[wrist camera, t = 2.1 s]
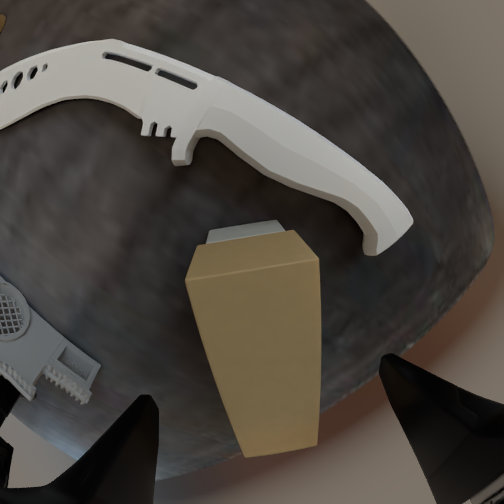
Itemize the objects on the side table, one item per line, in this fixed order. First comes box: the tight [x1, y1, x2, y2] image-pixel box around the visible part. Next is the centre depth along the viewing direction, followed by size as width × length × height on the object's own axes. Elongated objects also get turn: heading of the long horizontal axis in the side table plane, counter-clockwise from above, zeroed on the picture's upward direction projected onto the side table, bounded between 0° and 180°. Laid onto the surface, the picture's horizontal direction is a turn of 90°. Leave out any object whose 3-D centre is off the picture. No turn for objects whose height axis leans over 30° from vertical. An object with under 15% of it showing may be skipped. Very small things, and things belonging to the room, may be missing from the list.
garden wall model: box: [0, 276, 101, 405], centre depth 10 cm, size 12×2×6 cm, turn 49°
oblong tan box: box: [185, 220, 321, 457], centre depth 11 cm, size 4×10×5 cm, turn 8°
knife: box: [0, 39, 413, 256], centre depth 9 cm, size 30×2×8 cm
